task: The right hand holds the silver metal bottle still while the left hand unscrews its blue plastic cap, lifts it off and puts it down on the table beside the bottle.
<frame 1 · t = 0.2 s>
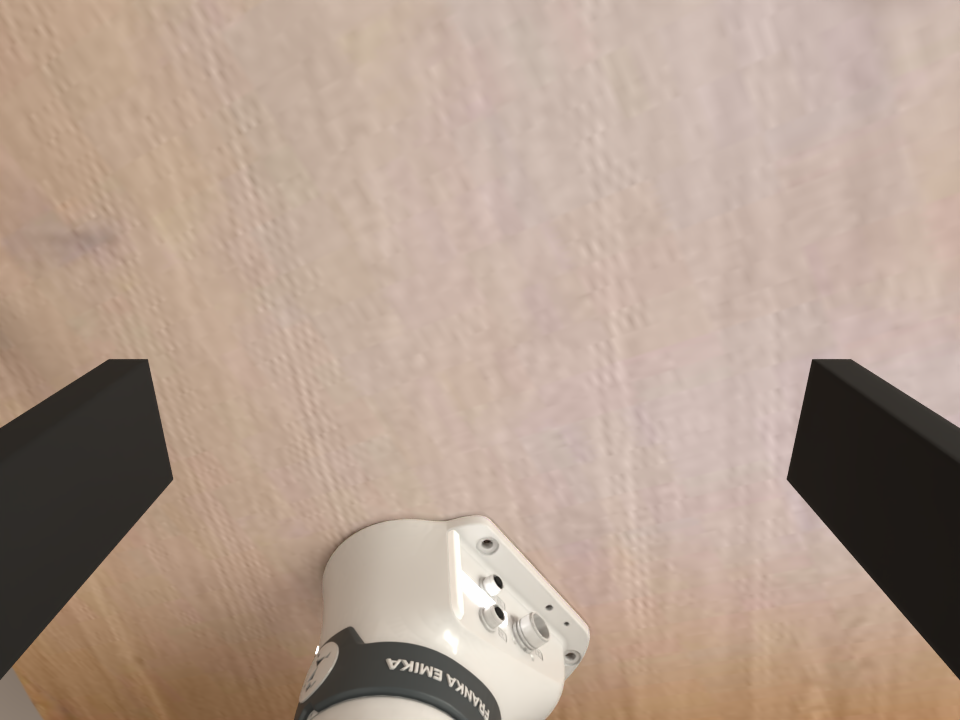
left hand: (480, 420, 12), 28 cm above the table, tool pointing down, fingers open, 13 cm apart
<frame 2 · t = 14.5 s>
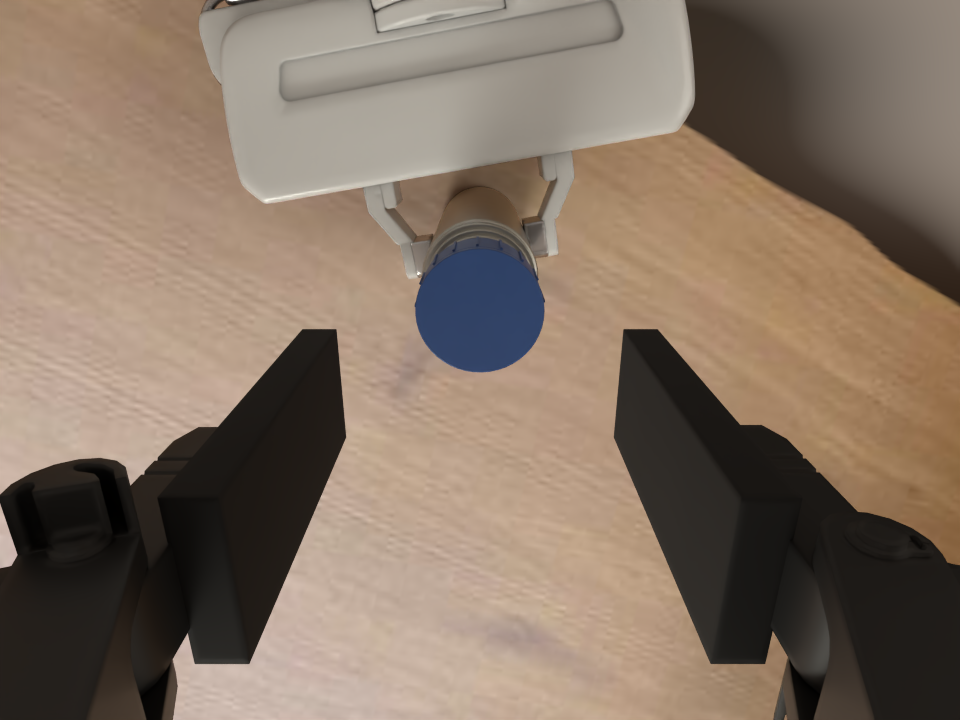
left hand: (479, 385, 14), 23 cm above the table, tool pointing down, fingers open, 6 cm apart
right hand: (483, 264, 30), fingers closed on bottle, 4 cm apart
bottle: (480, 226, 35), on the table, touching right hand
cap: (479, 310, 20), point 17 cm above the table, screwed on, not yet turned
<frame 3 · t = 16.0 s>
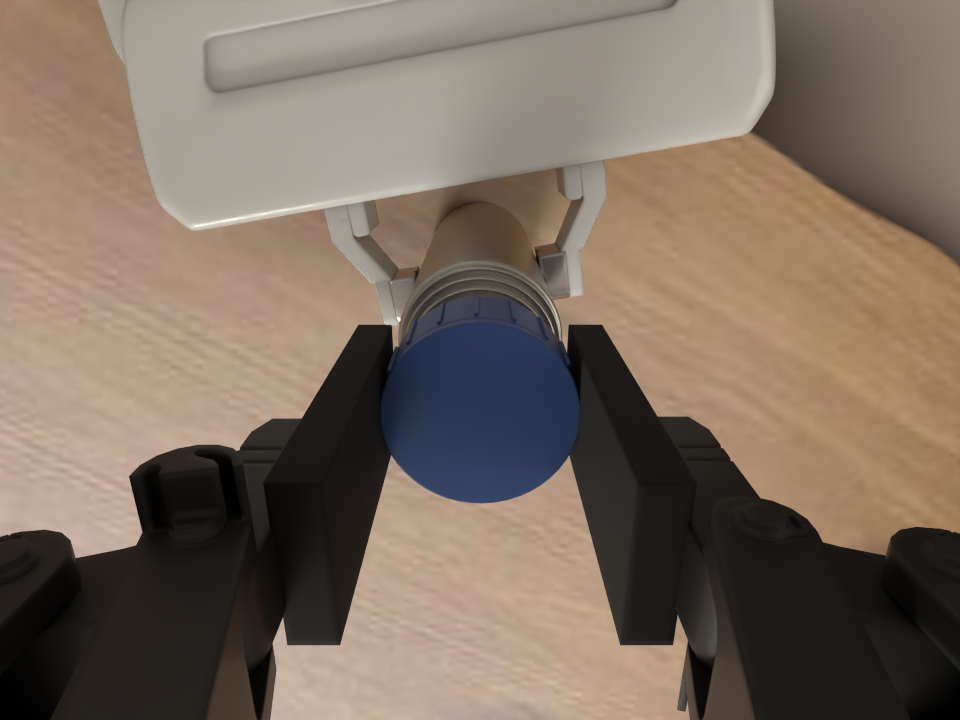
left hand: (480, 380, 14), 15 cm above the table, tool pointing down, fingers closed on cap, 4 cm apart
bottle: (480, 252, 28), on the table, touching right hand
cap: (480, 412, 13), point 17 cm above the table, screwed on, not yet turned, touching left hand
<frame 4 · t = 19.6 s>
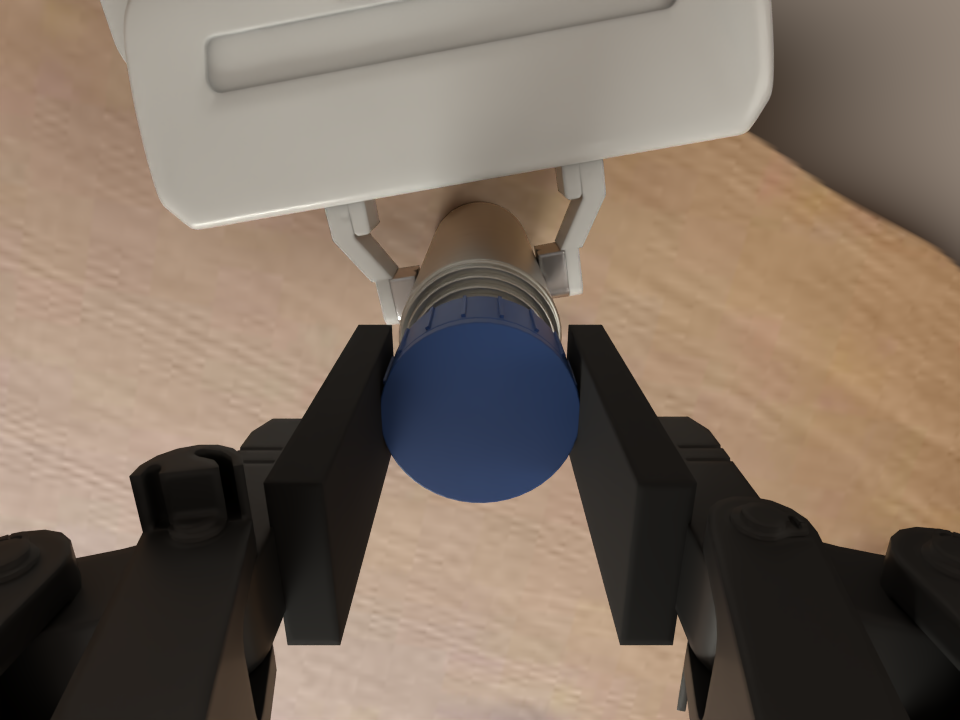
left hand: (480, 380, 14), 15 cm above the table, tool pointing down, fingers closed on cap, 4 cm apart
bottle: (480, 251, 29), on the table, touching right hand
cap: (480, 411, 13), point 17 cm above the table, turned 113° so far, risen 0.1 cm, still on its thread, touching left hand
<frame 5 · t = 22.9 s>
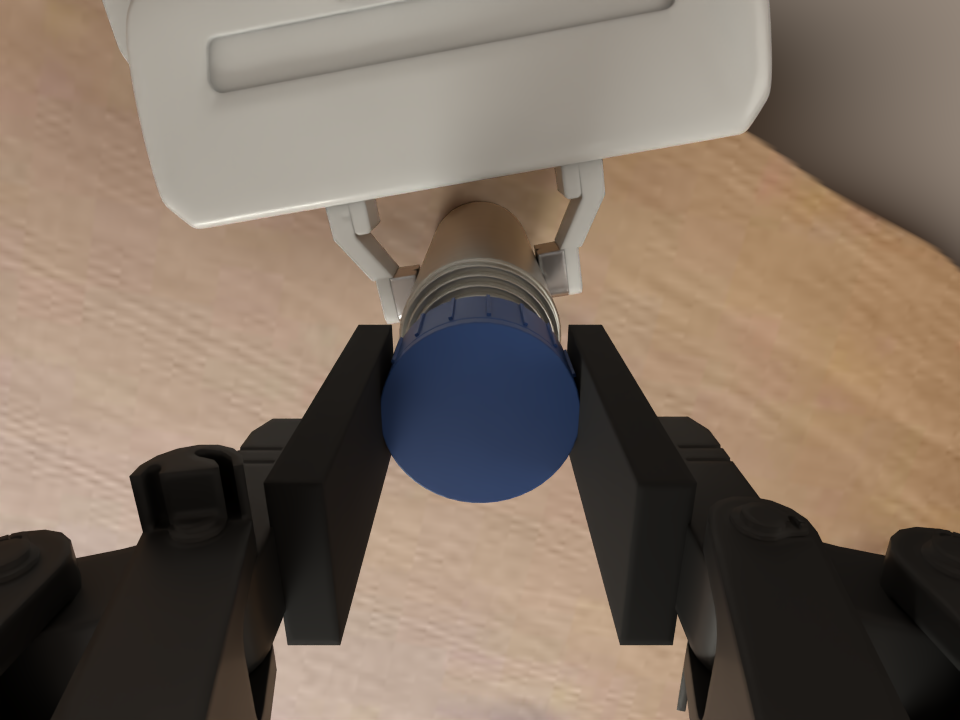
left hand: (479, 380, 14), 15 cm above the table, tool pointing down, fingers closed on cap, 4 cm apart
bottle: (480, 250, 29), on the table, touching right hand
cap: (480, 411, 13), point 17 cm above the table, turned 226° so far, risen 0.3 cm, still on its thread, touching left hand
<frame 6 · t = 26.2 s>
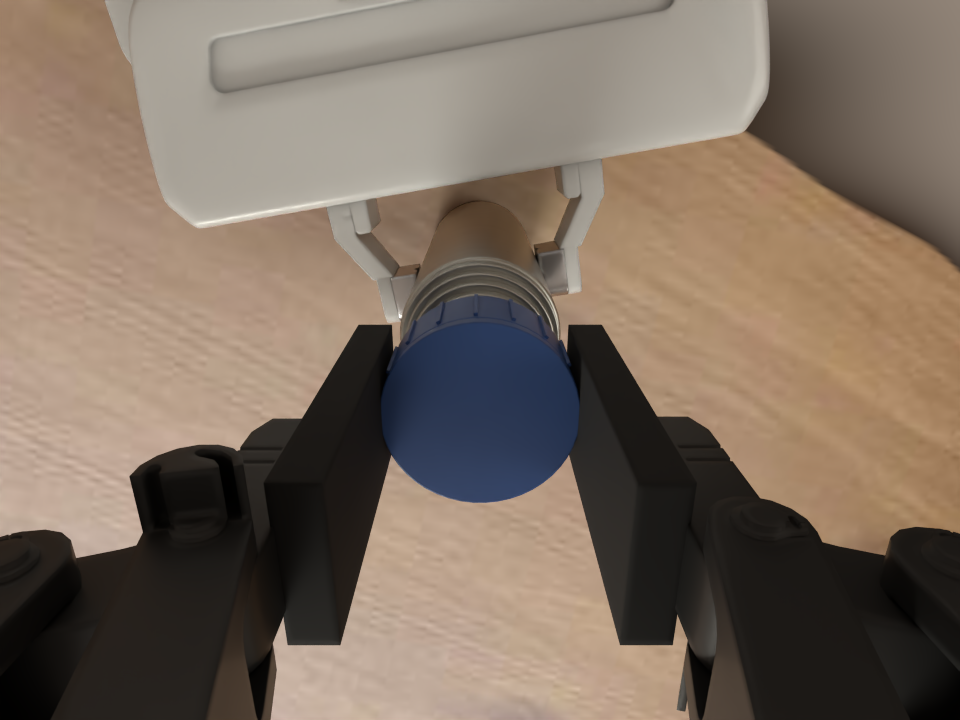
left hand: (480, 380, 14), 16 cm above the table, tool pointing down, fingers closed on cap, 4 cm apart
bottle: (480, 249, 29), on the table, touching right hand
cap: (480, 411, 13), point 17 cm above the table, turned 339° so far, risen 0.4 cm, still on its thread, touching left hand
when the left hand's fingers open (1 cm above the table, at t = 32.2 s): cap drops 1 cm, point 2 cm above the table.
when the right hand's fingers open (6 cm above the table, at t = 33.5 s): bottle stays where it is, on the table.
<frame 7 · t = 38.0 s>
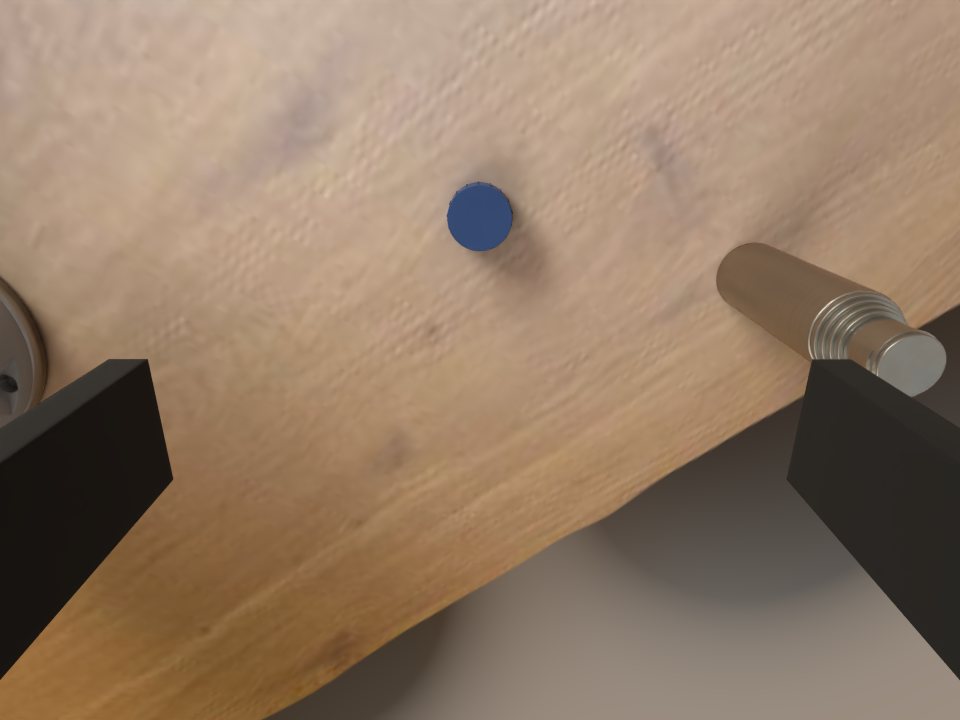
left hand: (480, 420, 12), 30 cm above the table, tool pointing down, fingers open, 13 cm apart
bottle: (749, 275, 42), on the table
cap: (479, 218, 39), point 2 cm above the table, off its thread
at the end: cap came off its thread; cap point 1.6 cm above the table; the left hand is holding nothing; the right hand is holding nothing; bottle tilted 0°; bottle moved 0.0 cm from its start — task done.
